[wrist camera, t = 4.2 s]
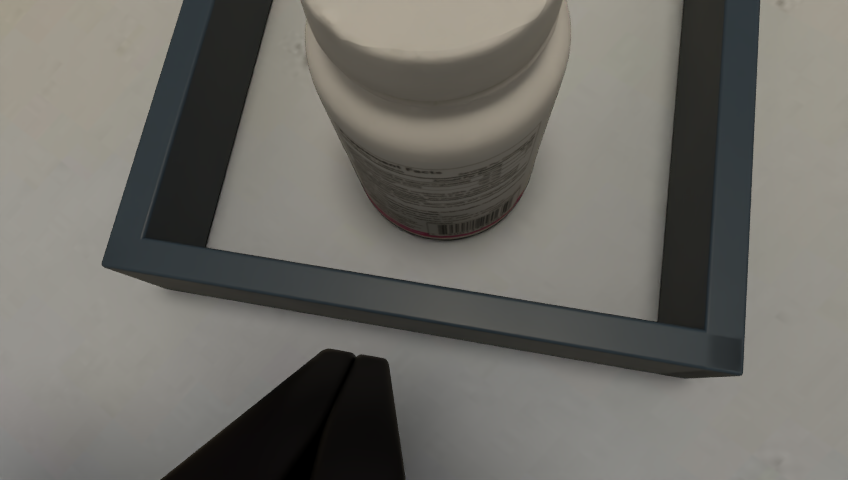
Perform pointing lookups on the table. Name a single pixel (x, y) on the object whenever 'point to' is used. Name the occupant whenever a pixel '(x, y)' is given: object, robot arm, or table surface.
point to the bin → (441, 306)
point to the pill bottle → (439, 101)
